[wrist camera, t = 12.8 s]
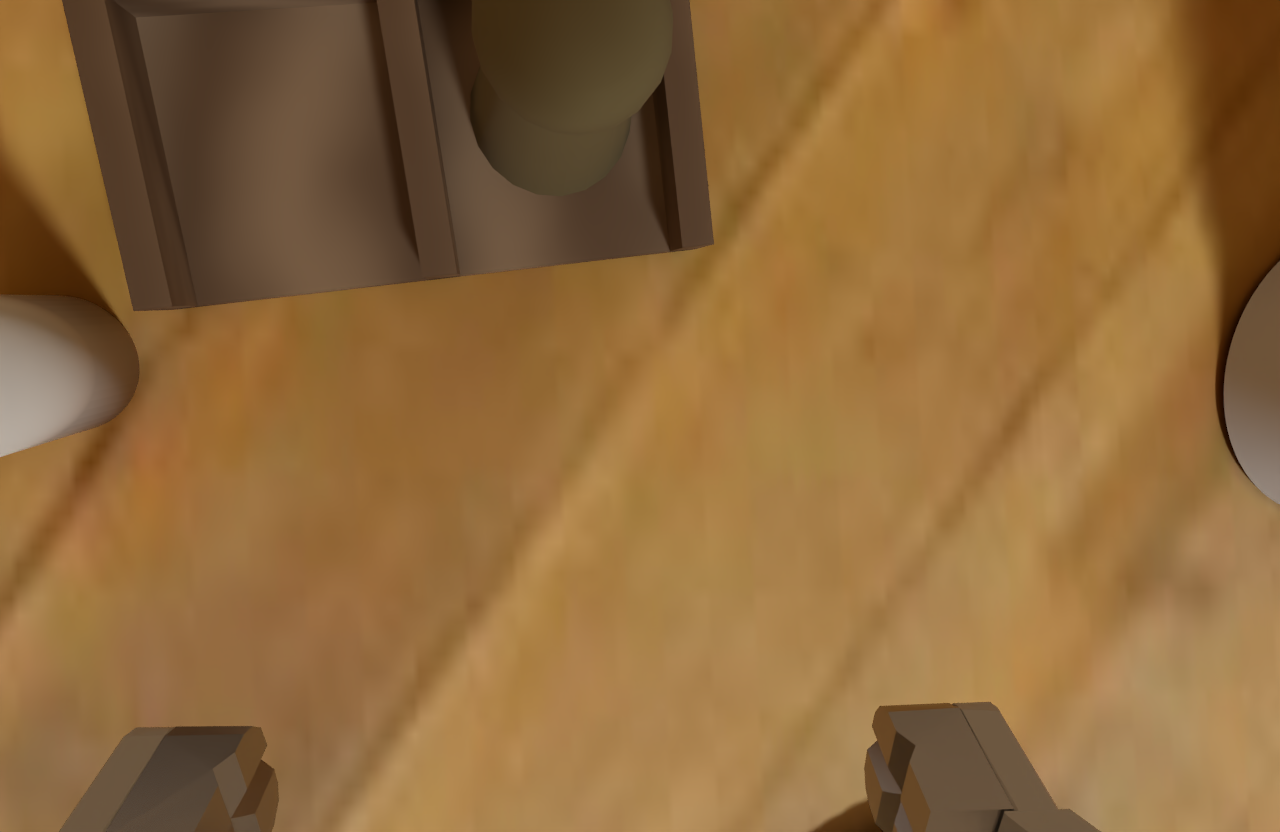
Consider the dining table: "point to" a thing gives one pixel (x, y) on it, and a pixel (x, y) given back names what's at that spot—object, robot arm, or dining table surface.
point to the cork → (563, 85)
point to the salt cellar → (60, 369)
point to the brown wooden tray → (346, 151)
